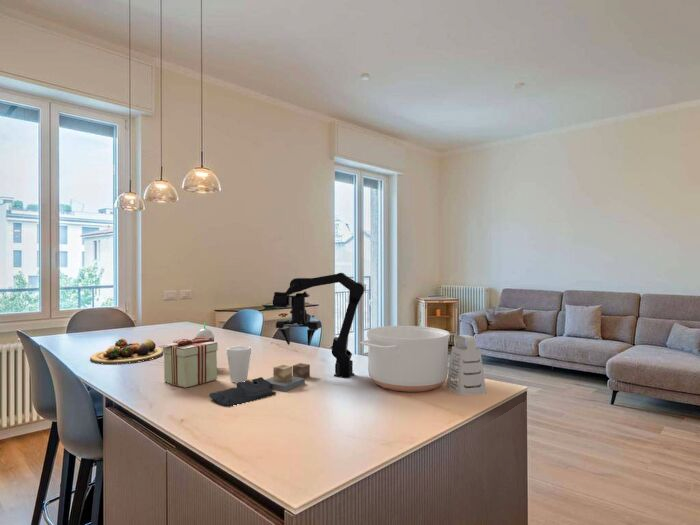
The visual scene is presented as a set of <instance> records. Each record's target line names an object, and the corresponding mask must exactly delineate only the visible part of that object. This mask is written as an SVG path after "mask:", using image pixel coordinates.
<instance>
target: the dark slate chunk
mask: <svg viewBox="0 0 700 525" xmlns="http://www.w3.org/2000/svg"><path fill="white" fill-rule="evenodd" d="M271 386H272V384H271V383H270V382H268V381H266V379H265V378H263V377H262V376H261V377H257V378H254V379H251V381H250V380H247V381H245V382H238V383H236V387H231V388H226V389H223V390H219V391H213V392H210V393H209V395H208V397H209V398H210V399H212V400H213V401H216V402H217V403H218V404H219V405H220V406H221V405H222V406H223V407H226V406H229V407H228V408H231V407H230V406H232V407H234V406H233V405H236V406H238V405H237V404H239V405H243V404H242V403H244V404H247V403H246V402H248V403H251V402H250V401H252V402H255V401H258V400H261V398H262V399H265V398H268V396H269V397H272V395H273V396H276V395H277V394H276V393H277V392H275V391H273V389H271ZM275 394H276V395H275ZM257 399H258V400H257ZM254 400H255V401H254Z"/></svg>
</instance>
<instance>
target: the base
mask: <svg viewBox="0 0 700 525" xmlns="http://www.w3.org/2000/svg"><path fill="white" fill-rule="evenodd" d="M265 380H266V381H268V382H270V383H271V384H272V386H271V389H270V390H274V389H275V391H280V392H284V393H285V392H287V391H290V390H293V389H295V388H297V387H300V386H303V385H305V384H306V378H299V377H293V375H292V380H289V381H286V382H279V381H273V376H271V377H269V378H266V379H265Z"/></svg>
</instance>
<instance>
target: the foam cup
mask: <svg viewBox="0 0 700 525" xmlns="http://www.w3.org/2000/svg"><path fill="white" fill-rule="evenodd" d="M251 354H252V347H251V346H249V345H233V346H229V347H228V346H227V347H226V356H227V361H228V372H229V378H230V379H229V380H230V382H231V383H233V382H244V381H248V374H249V368H250V362H251V361H250V360H251Z"/></svg>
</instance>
